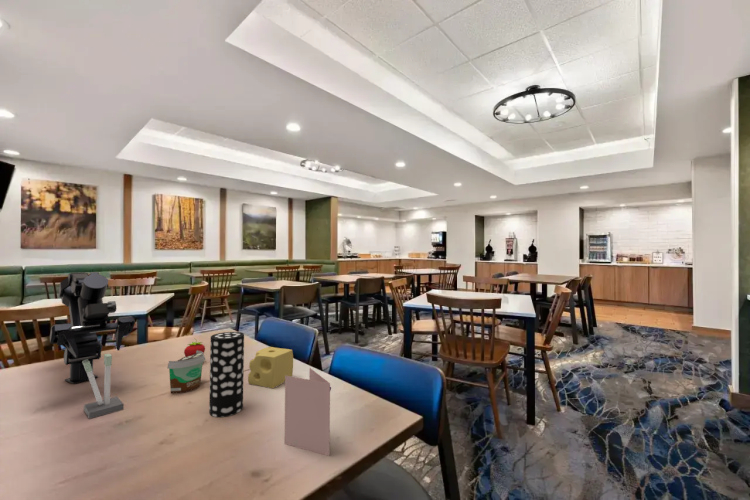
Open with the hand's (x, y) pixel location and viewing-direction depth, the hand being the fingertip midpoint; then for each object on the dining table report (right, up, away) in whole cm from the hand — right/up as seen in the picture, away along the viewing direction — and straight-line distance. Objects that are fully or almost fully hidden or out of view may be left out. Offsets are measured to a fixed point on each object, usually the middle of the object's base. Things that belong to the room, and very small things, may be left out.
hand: (98, 353), depth 93 cm
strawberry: (+10, -14, +32) cm, 36 cm away
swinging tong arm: (+6, -12, -5) cm, 14 cm away
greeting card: (+64, -14, -22) cm, 69 cm away
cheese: (+44, -14, +16) cm, 49 cm away
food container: (+21, -14, +9) cm, 27 cm away
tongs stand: (+6, -13, -6) cm, 16 cm away
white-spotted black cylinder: (+39, -14, -5) cm, 41 cm away
